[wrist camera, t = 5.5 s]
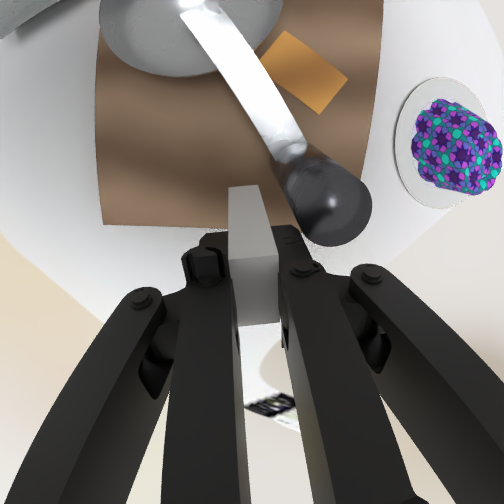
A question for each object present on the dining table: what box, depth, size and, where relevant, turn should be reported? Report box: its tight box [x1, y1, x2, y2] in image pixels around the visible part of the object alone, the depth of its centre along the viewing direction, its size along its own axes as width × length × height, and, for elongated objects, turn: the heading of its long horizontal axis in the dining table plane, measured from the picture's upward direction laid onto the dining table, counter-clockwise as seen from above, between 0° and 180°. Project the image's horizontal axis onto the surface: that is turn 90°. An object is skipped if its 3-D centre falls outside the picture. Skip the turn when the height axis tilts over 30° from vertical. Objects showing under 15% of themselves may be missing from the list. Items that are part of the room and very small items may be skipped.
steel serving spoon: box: [99, 0, 372, 247], centre depth 10 cm, size 18×10×8 cm, turn 30°
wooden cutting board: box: [95, 0, 383, 233], centre depth 15 cm, size 22×18×2 cm
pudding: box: [395, 77, 502, 209], centre depth 17 cm, size 12×12×5 cm
